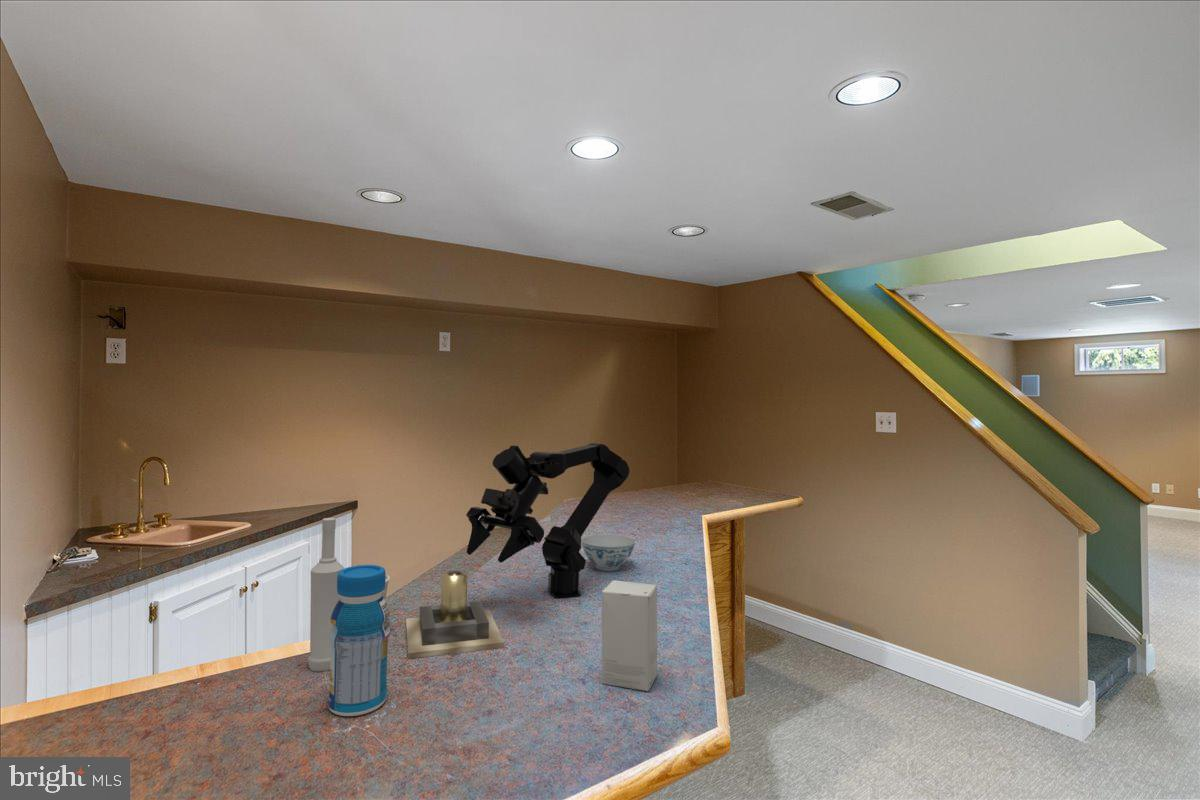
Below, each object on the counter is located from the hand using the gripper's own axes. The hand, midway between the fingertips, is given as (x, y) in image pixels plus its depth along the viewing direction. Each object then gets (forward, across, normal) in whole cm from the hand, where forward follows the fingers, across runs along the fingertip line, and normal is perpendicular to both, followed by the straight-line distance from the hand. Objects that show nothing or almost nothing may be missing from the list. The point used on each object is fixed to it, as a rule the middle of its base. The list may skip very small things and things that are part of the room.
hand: (483, 557), depth 119 cm
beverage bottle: (+33, +9, -14) cm, 37 cm away
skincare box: (+11, +37, +8) cm, 40 cm away
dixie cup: (+21, -16, -2) cm, 26 cm away
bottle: (+31, -7, -11) cm, 33 cm away
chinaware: (-26, -3, +46) cm, 53 cm away
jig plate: (+15, 0, +4) cm, 16 cm away
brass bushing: (+14, 0, +4) cm, 15 cm away
